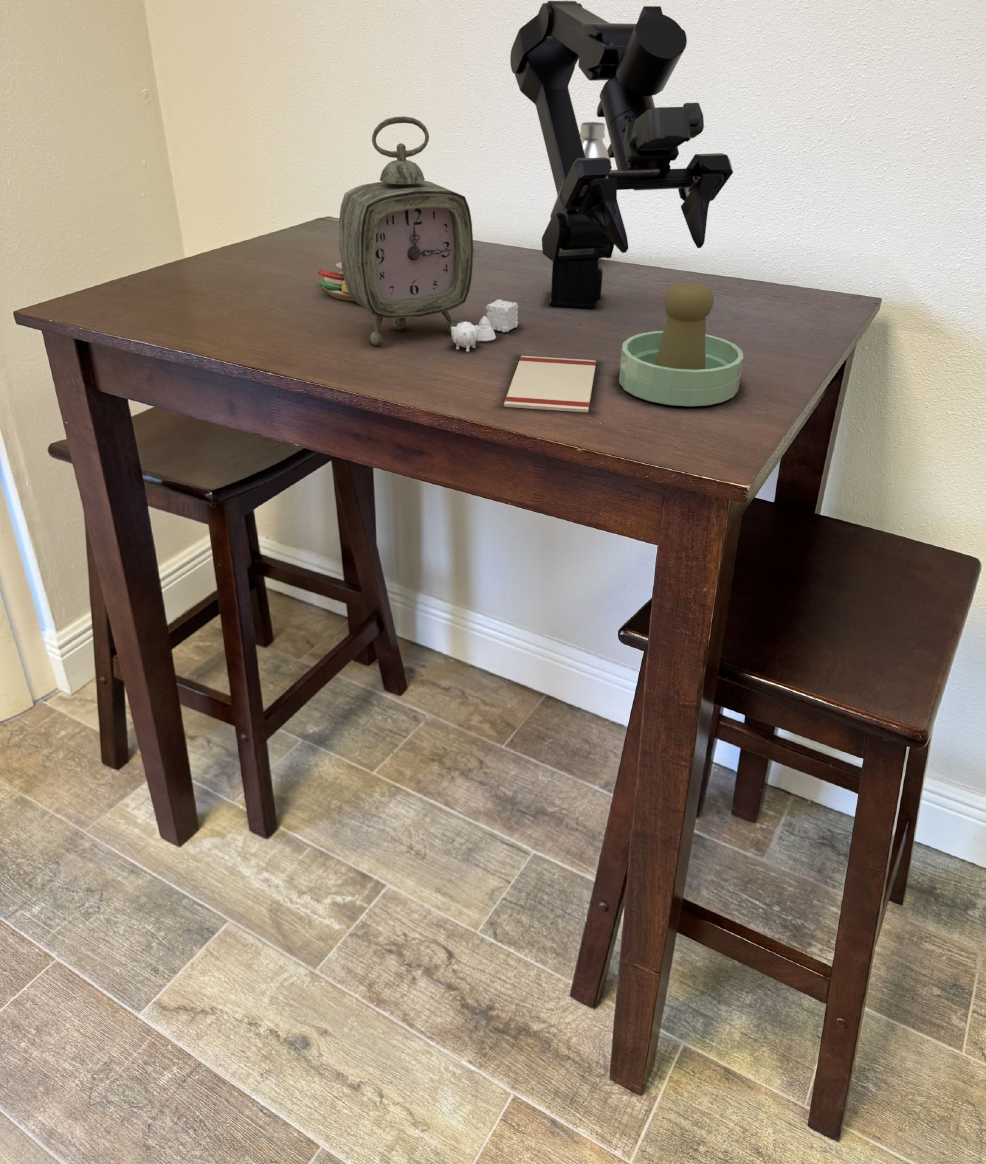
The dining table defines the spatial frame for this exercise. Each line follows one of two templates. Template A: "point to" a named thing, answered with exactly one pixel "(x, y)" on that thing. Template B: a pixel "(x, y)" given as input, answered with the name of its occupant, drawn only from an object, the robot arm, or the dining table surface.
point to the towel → (552, 384)
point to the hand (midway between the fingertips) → (663, 248)
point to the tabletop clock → (405, 241)
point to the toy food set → (335, 283)
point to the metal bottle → (593, 140)
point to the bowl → (680, 373)
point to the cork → (685, 326)
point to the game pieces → (487, 324)
